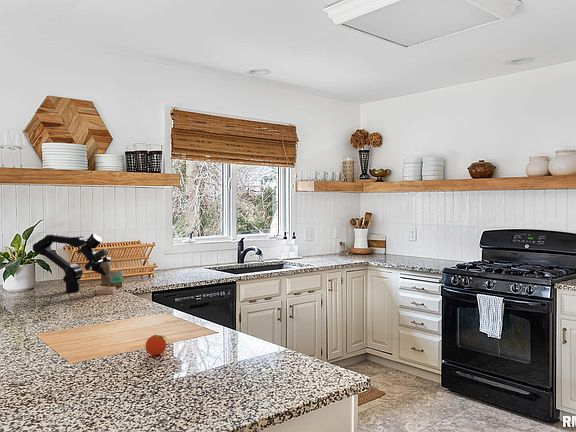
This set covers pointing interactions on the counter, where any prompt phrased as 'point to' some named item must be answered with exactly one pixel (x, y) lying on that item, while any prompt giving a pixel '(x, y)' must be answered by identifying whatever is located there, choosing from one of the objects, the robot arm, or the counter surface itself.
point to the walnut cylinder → (107, 278)
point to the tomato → (156, 344)
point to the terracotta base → (105, 290)
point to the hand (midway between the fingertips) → (107, 274)
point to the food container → (116, 279)
